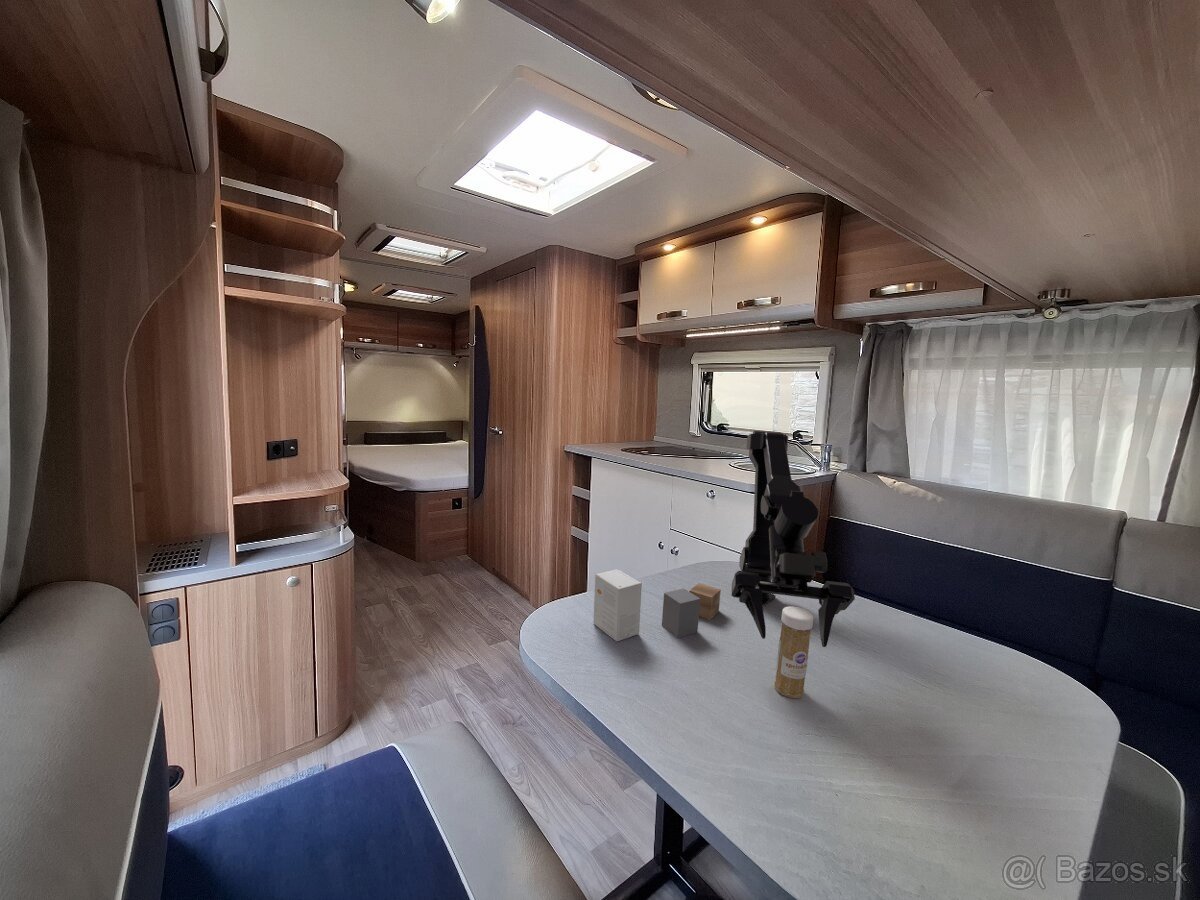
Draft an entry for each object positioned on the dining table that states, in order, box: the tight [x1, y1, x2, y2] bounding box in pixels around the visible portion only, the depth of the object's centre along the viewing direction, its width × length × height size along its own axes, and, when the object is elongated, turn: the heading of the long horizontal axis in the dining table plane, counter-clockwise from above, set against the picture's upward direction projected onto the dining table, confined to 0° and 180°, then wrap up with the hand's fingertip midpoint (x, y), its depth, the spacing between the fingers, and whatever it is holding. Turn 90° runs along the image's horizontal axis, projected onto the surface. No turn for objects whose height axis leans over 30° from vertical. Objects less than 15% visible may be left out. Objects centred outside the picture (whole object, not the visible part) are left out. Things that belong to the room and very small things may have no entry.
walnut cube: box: [688, 582, 722, 621], centre depth 101 cm, size 5×5×5 cm
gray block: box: [661, 587, 700, 638], centre depth 93 cm, size 5×5×7 cm
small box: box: [592, 569, 643, 643], centre depth 91 cm, size 8×6×10 cm
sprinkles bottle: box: [773, 606, 814, 699], centre depth 75 cm, size 5×5×14 cm
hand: (793, 642), depth 75 cm, fingers open, 9 cm apart
